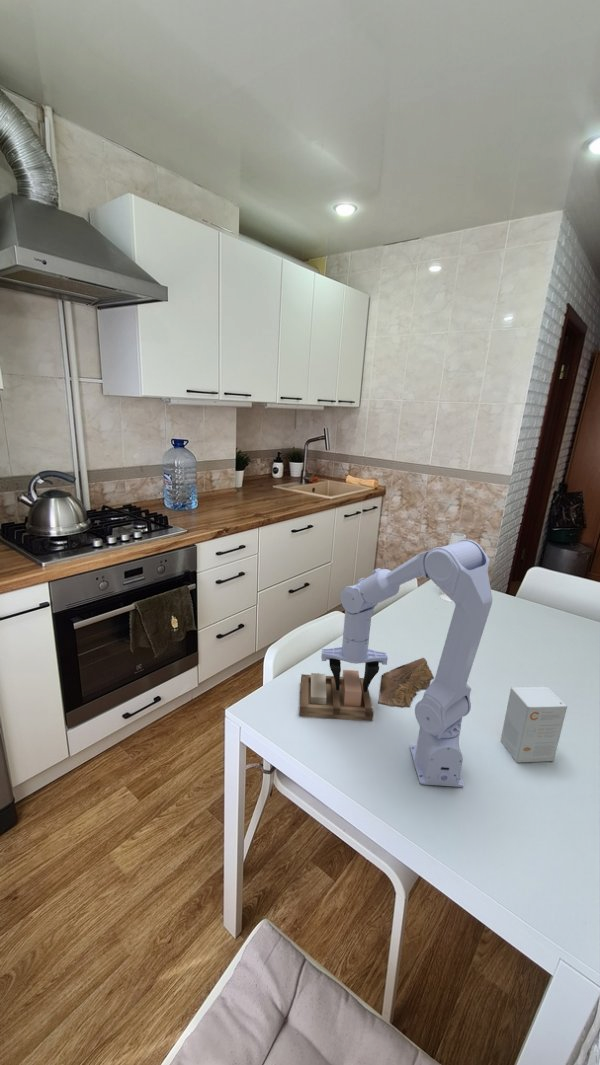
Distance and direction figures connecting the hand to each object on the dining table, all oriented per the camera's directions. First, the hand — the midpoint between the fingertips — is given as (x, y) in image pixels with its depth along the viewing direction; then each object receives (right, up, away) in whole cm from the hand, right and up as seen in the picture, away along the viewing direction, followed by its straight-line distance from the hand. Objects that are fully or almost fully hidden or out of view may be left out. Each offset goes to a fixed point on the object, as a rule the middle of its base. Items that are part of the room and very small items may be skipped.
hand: (351, 688), depth 102 cm
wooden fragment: (+15, -2, +11) cm, 19 cm away
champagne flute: (+43, +12, +61) cm, 75 cm away
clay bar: (0, -3, 0) cm, 3 cm away
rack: (-4, -3, +1) cm, 5 cm away
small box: (+34, -9, -11) cm, 37 cm away
